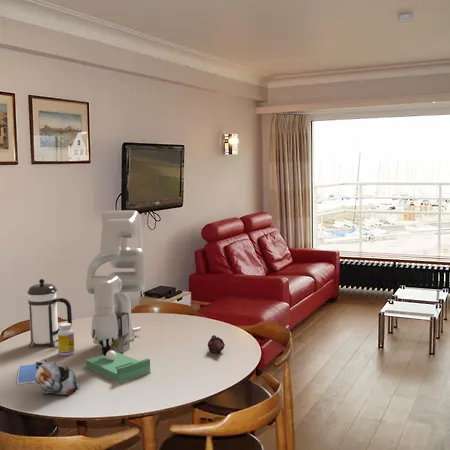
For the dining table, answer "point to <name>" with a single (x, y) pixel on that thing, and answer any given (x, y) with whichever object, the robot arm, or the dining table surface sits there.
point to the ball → (110, 355)
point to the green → (119, 367)
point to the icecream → (216, 344)
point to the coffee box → (121, 333)
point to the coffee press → (44, 313)
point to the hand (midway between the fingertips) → (106, 355)
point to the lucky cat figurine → (55, 378)
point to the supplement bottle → (65, 339)
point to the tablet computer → (27, 374)
